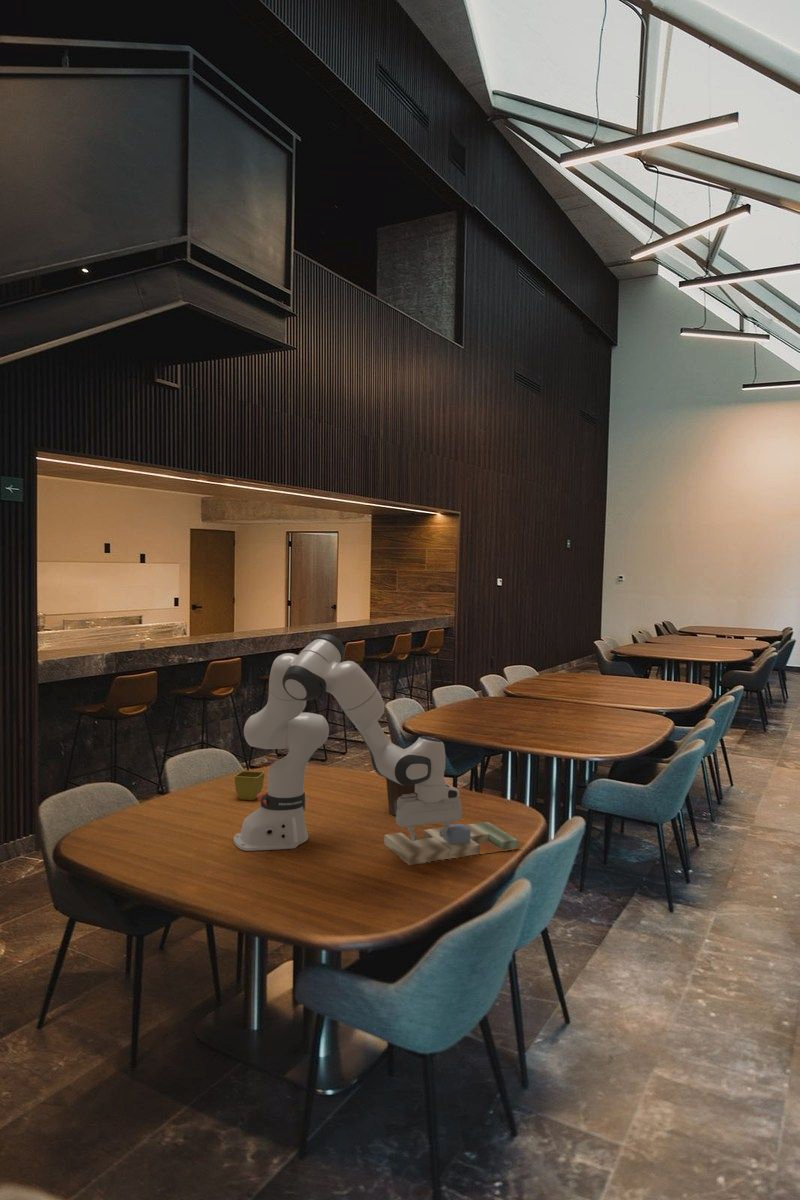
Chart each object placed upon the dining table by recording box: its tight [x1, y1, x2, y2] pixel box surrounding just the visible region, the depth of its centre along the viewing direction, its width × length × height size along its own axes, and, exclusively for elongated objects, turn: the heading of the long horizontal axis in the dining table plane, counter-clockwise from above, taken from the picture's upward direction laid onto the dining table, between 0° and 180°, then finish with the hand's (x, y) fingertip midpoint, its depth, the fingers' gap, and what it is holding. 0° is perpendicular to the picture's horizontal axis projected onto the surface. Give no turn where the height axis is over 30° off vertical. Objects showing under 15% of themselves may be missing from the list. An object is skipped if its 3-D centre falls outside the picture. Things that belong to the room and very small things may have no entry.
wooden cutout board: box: [383, 821, 519, 866], centre depth 231 cm, size 36×18×3 cm, turn 113°
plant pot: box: [385, 778, 415, 817], centre depth 264 cm, size 16×16×16 cm
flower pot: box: [234, 770, 265, 801], centre depth 276 cm, size 9×9×9 cm
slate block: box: [443, 823, 471, 845], centre depth 227 cm, size 6×6×4 cm
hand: (428, 838), depth 224 cm, fingers open, 8 cm apart
